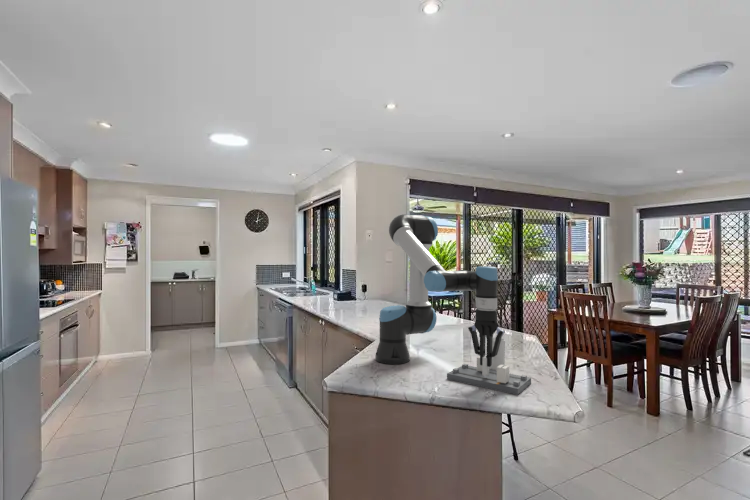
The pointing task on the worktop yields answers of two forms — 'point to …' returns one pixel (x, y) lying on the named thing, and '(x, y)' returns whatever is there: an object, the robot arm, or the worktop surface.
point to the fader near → (503, 373)
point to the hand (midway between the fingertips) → (485, 374)
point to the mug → (498, 355)
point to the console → (489, 379)
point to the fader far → (479, 367)
